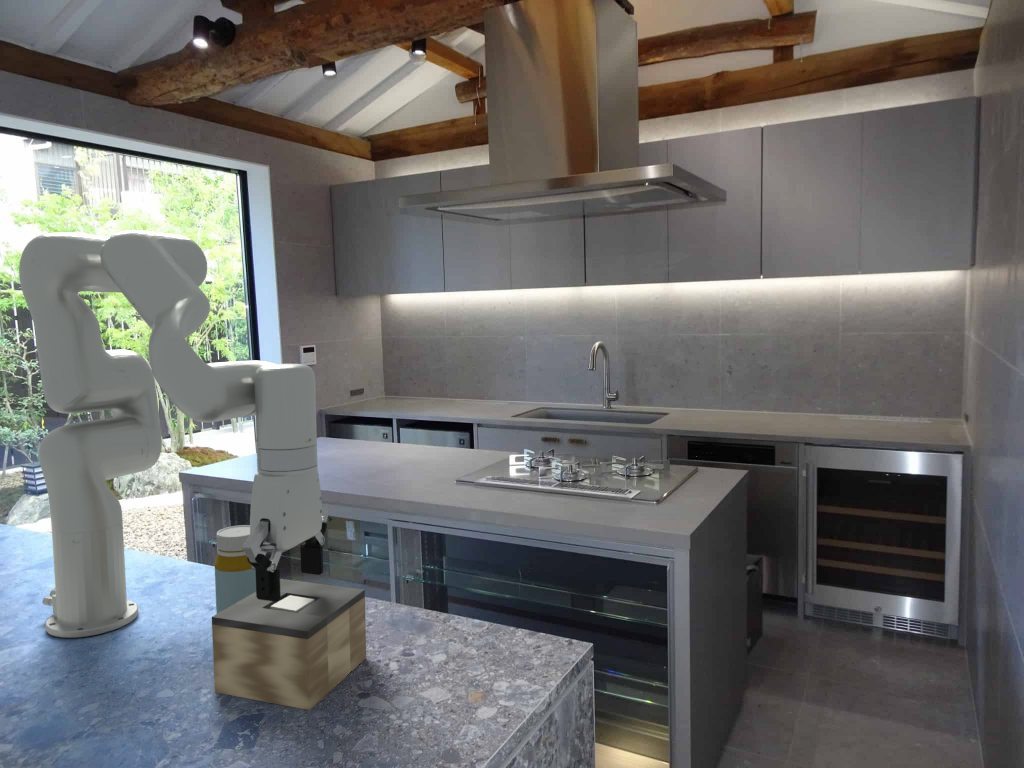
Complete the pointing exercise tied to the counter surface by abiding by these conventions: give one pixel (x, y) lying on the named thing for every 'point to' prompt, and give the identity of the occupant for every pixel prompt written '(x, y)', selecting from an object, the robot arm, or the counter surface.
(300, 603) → the peg
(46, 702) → the counter surface
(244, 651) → the socket
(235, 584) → the bottle
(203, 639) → the counter surface
